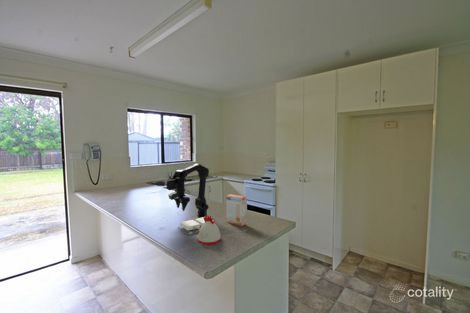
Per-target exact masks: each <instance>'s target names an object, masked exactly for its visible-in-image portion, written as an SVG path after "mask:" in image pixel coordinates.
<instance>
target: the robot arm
mask: <svg viewBox="0 0 470 313" xmlns="http://www.w3.org/2000/svg"><path fill="white" fill-rule="evenodd" d="M193 172H197V173H198V174H197V175H198V177H199V185H198V196H197V197H196V198H195V201H194V205H195V207H196V210H197V214H196V215H197V217H198V218H202V217H205V216H207V217H208V214H207V211H208V210H209V205H208V204H207V199H206V196H205V195H206V194H205V193H206V186H207V182H206V181H207V178H208V177H209V173H210V169H209V168H208V167H206V166H203V165H202V164H200V163H194V164H192V165H190V166H188V167H186V168H182V169H176V170H175V172H174V174H173V176H172V178H171V179H168V181H167V183H166V184H165V186H166V188H167V190H168V191H173V190H174V191H173V192H171V193H169V194H168V196H167V197H168V199H169V200H170V201H172V200H174V201H175V205H176V208H177V209H179V208H180V205H181V208H182V209H181V211H182V212H184V211H185V210H186V208H187V207H188V206H187V205H188V204H189V202H190V201H191V198H190V196H187V195H186V194H185V191H186V188H185V187H186V186H185V184H186V183H185V182H186V181H188V180H187V179H186V178H187V177H188V176H189V175H190V174H191V173H193Z"/></svg>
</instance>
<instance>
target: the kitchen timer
mask: <svg viewBox="0 0 470 313" xmlns="http://www.w3.org/2000/svg"><path fill="white" fill-rule="evenodd" d="M203 218H204V221H205V223H204V224H203V225H202V226H201V228H200V231H199V233H198V236H197V241H198V242H199V243H200V244H201V245H207V246H208V245H215V244H218V243H220V242H221V240H222V238H221V236H222V235H221V232H220V229H219V226H218V225H217V224H216V220H214V217H213V218H212V216H211V215H210V216H209V215H207V216H205V217H203ZM213 220H214V221H213Z"/></svg>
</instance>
